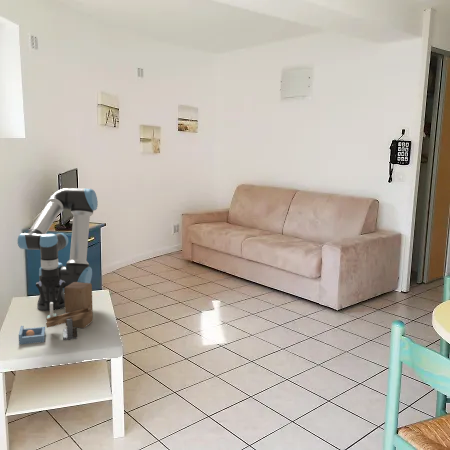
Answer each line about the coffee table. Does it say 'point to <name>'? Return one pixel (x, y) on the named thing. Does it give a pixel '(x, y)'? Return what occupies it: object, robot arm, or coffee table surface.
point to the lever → (68, 317)
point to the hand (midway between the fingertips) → (51, 316)
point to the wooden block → (78, 301)
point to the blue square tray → (38, 336)
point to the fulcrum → (69, 331)
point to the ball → (30, 333)
